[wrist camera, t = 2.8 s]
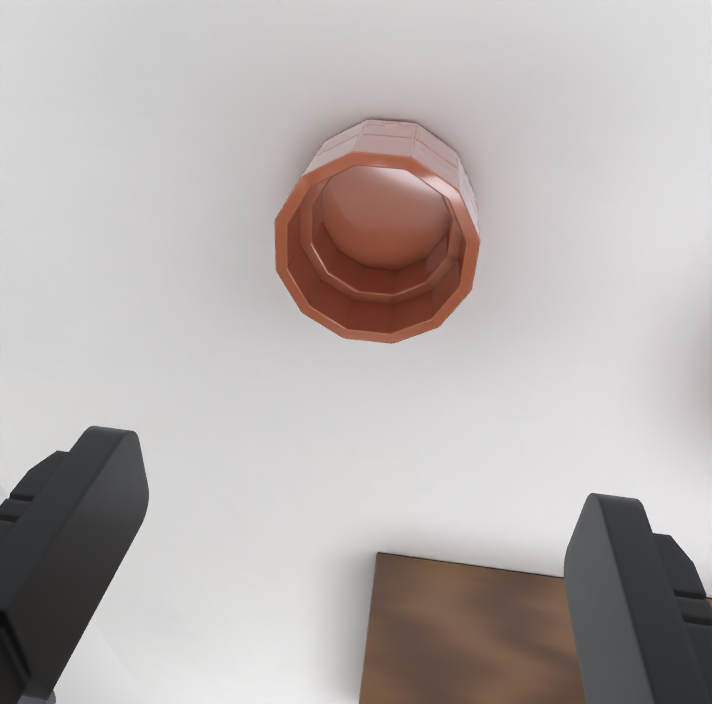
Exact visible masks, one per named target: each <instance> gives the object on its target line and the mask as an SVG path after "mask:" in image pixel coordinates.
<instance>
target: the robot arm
mask: <svg viewBox="0 0 712 704" xmlns="http://www.w3.org/2000/svg"><path fill="white" fill-rule="evenodd" d="M148 500H149V489H148V483H147V478H146V473H145V468H144V463H143V458H142V453H141V448H140V442H139V438H138V436H137V434H136V432H134V431H129V430H122V429H114V428H106V427H99V426H91V427H89V428H88V429H86V430H85V432H84V433H83V434H82V435H81V437H80V438H79V439H78V441H77V442H76V443H75V445H74V446H73V447H72V449H71V450H70V451H69V452H63V451H56V452H54V453H53V454H52V455H50V456H49V457H47V458H46V459H44V460H43V461H41V462H40V463H39V464H37V465H36V466H34V467H33V468H31V469H30V470H29V471H28V472H27V473H26V475H25V476H24V477H23V478H22V479H21V481H20V482H19V483H18V484H17V486H16V487H15V488H14V489H13V491H12V492H11V493H10V497H9V499H5V501H4V502H3V503H2V504H1V505H0V704H17V703H18V701H19V700H20V698H21V696H26V697H32V698H38V699H44V700H48V698H49V696H50V694H51V692H52V690H53V689H54V687H55V685H56V683H57V681H58V679H59V677H60V676H61V674H62V672H63V670H64V668H65V666H66V664H67V662H68V661H69V659H70V657H71V655H72V653H73V651H74V649H75V648H76V646H77V644H78V642H79V640H80V638H81V636H82V634H83V633H84V631H85V629H86V627H87V625H88V623H89V621H90V620H91V618H92V616H93V614H94V612H95V610H96V608H97V607H98V605H99V603H100V601H101V599H102V597H103V595H104V594H105V592H106V590H107V588H108V586H109V584H110V582H111V580H112V579H113V577H114V575H115V573H116V571H117V569H118V567H119V566H120V564H121V562H122V560H123V558H124V556H125V554H126V553H127V551H128V549H129V547H130V545H131V543H132V541H133V539H134V538H135V536H136V534H137V532H138V530H139V528H140V526H141V524H142V522H143V520H144V518H145V515H146V511H147V507H148ZM564 584H565V590H566V595H567V601H568V606H569V612H570V617H571V623H572V628H573V634H574V639H575V645H576V650H577V656H578V661H579V667H580V672H581V678H582V683H583V689H584V694H585V700H586V704H712V608H711V605H710V603H709V601H706V593H705V590H704V588H703V585H702V583H701V580H700V578H699V575H698V573H697V570H696V568H695V565H694V563H693V562H692V561H691V560H690V558H689V557H688V556H687V555H686V554H685V552H684V551H683V550H682V549H681V548H680V547H679V545H678V544H677V543H676V542H675V541H674V539H673V538H672V537H671V536H670V535H663V534H656V533H653V532H652V530H651V527H650V524H649V521H648V518H647V515H646V512H645V510H644V507H643V505H642V503H641V502H640V501H639V500H638V499H634V498H627V497H619V496H611V495H604V494H596V493H591V494H590V495H589V496H588V497H587V499H586V501H585V504H584V506H583V509H582V511H581V514H580V517H579V519H578V522H577V524H576V527H575V529H574V532H573V535H572V537H571V540H570V542H569V545H568V548H567V551H566V555H565V562H564Z"/></svg>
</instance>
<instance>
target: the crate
mask: <svg viewBox="0 0 712 704" xmlns="http://www.w3.org/2000/svg"><path fill="white" fill-rule="evenodd" d="M706 601H709V603H710V605H711V608H712V599H708V598H706ZM359 704H586V700H585V694H584V689H583V683H582V678H581V672H580V667H579V661H578V656H577V650H576V645H575V639H574V634H573V628H572V623H571V617H570V612H569V606H568V601H567V595H566V590H565V584H564V579H563V578H556V577H549V576H541V575H534V574H527V573H520V572H512V571H505V570H498V569H491V568H483V567H476V566H469V565H462V564H454V563H447V562H440V561H433V560H425V559H418V558H411V557H404V556H396V555H389V554H382V553H377V555H376V564H375V572H374V580H373V589H372V597H371V606H370V614H369V623H368V631H367V639H366V648H365V656H364V665H363V673H362V682H361V690H360V698H359Z"/></svg>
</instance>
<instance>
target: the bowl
mask: <svg viewBox="0 0 712 704" xmlns="http://www.w3.org/2000/svg"><path fill="white" fill-rule="evenodd" d="M479 246H480V235H479V226H478V217H477V209H476V200H475V194H474V192H473V189H472V187H471V184H470V182H469V179H468V177H467V175H466V172H465V170H464V167H463V165H462V162H461V160H460V157H459V155H458V154H456V151H454V150H453V149H452V148H450V147H449V146H448V145H446V144H445V143H443V142H442V141H441V140H439V139H438V138H437V137H435V136H434V135H432V134H431V133H430V132H428V131H427V130H426V129H424V128H423V127H421V126H420V125H417V124H416V123H408V122H396V121H383V120H371V119H369V120H368V121H367V120H365V121H363V122H361V123H359V124H357V125H355V126H353V127H351V128H349V129H347V130H346V131H344V132H342V133H340V134H338V135H336V136H334V137H332V138H330V139H328V140H326V141H325V142H324V143H323V144H322V146H321V147H320V149H319V150H318V152H317V153H316V155H315V156H314V158H313V159H312V161H311V162H310V164H309V165H308V167H307V168H306V170H305V171H304V173H303V174H302V176H301V177H300V179H299V181H298V182H297V184H296V186H295V187H294V189H293V191H292V192H291V194H290V196H289V197H288V199H287V201H286V202H285V204H284V206H283V207H282V209H281V210H280V212H279V214H278V215H277V217H276V219H275V259H276V271H277V273H278V275H279V276H280V278H281V280H282V281H283V283H284V284H285V286H286V288H287V289H288V291H289V293H290V294H291V296H292V298H293V299H294V301H295V302H296V304H297V306H298V307H299V309H300V311H301V312H302V313H303V314H305V315H307V316H308V317H310V318H312V319H313V320H315V321H316V322H318V323H320V324H321V325H323V326H325V327H326V328H328V329H329V330H331V331H333V332H334V333H336V334H337V335H339V336H341V337H342V338H346V339H355V340H364V341H373V342H382V343H391V344H392V343H396V342H399V341H402V340H404V339H407V338H410V337H413V336H416V335H418V334H421V333H424V332H427V331H430V330H432V329H435V328H438V327H439V326H440V325H441V324H442V323H443V322H444V321H445V320H446V319H447V317H448V316H449V315H450V314H451V313H452V312H453V311H454V310H455V308H456V307H457V306H458V305H459V304H460V303H461V302H462V301H463V300H464V298H465V297H466V296H467V295H468V294H469V293H470V292H471V290H472V286H473V280H474V275H475V269H476V263H477V258H478V252H479Z"/></svg>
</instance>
